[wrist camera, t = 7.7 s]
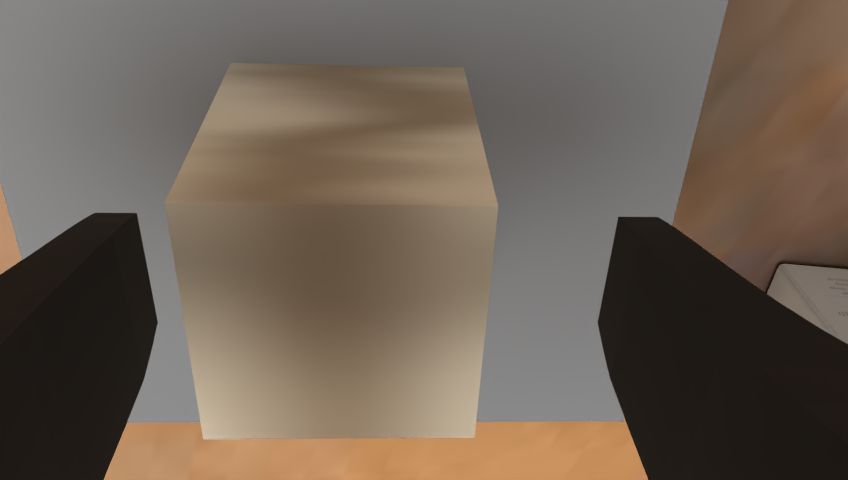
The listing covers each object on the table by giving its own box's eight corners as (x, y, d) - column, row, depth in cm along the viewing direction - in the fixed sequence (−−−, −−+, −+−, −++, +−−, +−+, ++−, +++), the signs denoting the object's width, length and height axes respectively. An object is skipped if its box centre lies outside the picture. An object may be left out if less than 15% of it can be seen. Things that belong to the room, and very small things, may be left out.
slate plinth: (727, -206, 17) (777, -198, 14) (602, 364, 25) (622, 421, 23) (-52, -242, 16) (-120, -241, 13) (95, 363, 24) (68, 422, 22)
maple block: (463, 67, 17) (498, 205, 12) (450, 258, 20) (474, 437, 15) (230, 63, 17) (164, 203, 12) (250, 257, 19) (203, 439, 14)
